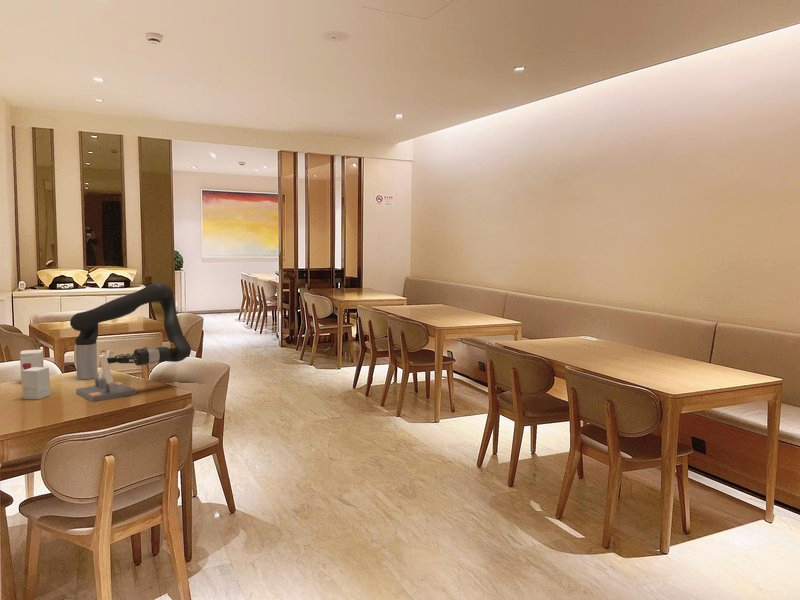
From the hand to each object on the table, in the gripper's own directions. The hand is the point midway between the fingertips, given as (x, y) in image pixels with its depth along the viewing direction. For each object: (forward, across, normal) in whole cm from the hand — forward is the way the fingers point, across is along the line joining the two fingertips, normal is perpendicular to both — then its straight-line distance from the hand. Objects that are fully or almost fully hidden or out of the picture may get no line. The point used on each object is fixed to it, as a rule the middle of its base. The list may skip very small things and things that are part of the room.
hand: (106, 361), depth 239 cm
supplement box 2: (+21, -21, +16) cm, 34 cm away
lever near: (-2, 0, +12) cm, 12 cm away
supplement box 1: (+14, -55, +16) cm, 59 cm away
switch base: (-2, -6, +16) cm, 17 cm away
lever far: (-1, -12, +12) cm, 17 cm away
